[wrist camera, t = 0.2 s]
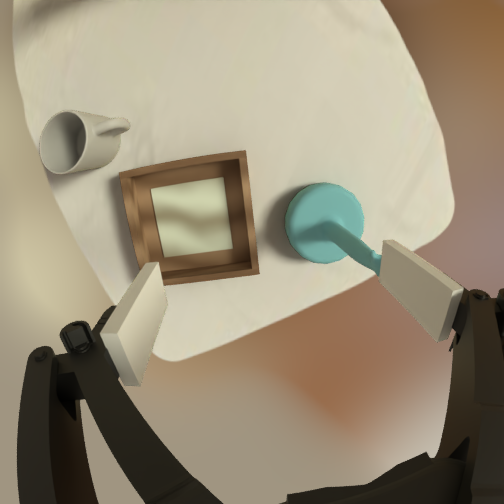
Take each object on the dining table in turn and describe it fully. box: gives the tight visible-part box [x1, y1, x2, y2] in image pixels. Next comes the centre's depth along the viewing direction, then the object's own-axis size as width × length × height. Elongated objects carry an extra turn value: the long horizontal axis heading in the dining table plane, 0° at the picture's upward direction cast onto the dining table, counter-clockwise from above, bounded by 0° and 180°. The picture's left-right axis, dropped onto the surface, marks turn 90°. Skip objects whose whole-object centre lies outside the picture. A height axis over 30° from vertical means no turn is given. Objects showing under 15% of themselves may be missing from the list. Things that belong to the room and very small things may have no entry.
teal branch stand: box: [285, 183, 382, 277], centre depth 31 cm, size 13×12×25 cm
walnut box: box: [119, 150, 260, 286], centre depth 40 cm, size 18×18×4 cm
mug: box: [39, 110, 130, 175], centre depth 31 cm, size 12×8×11 cm
